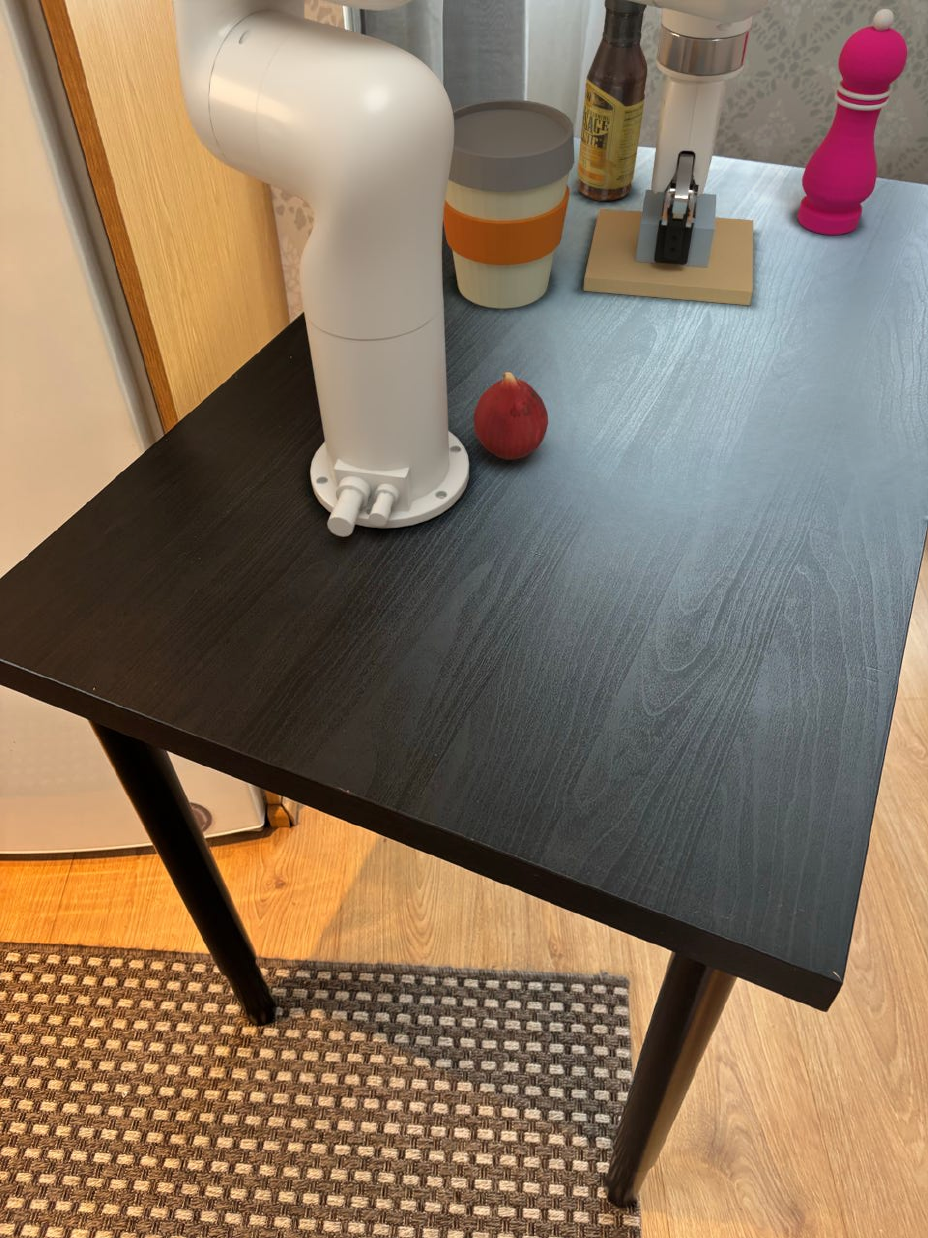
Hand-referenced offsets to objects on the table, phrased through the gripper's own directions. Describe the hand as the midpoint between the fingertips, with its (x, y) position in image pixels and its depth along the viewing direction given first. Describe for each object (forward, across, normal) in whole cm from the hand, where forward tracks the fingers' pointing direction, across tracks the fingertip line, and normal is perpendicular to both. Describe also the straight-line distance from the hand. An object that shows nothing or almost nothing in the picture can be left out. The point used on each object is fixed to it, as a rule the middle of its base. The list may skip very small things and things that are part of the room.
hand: (673, 238), depth 96 cm
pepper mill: (+3, -11, +16) cm, 20 cm away
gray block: (+1, 0, 0) cm, 1 cm away
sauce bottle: (+3, -14, -8) cm, 16 cm away
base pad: (+2, 0, 0) cm, 2 cm away
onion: (+3, +33, -11) cm, 35 cm away
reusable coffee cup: (+3, +7, -16) cm, 18 cm away
